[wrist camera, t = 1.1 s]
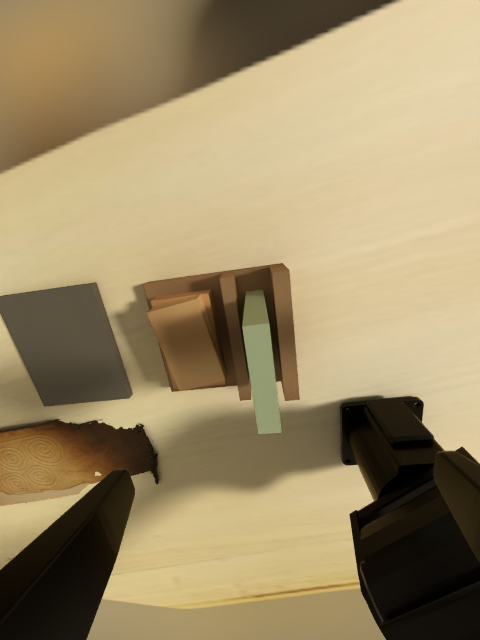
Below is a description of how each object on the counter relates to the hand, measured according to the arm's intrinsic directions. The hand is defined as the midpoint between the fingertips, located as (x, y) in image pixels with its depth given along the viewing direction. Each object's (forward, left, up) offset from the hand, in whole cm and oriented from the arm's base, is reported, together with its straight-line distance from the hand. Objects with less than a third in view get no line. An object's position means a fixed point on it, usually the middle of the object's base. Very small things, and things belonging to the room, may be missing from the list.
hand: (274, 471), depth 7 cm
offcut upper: (0, +5, -11) cm, 12 cm away
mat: (0, +16, -13) cm, 20 cm away
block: (0, 0, -12) cm, 12 cm away
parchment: (-12, +24, -13) cm, 30 cm away
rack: (0, +3, -13) cm, 13 cm away
